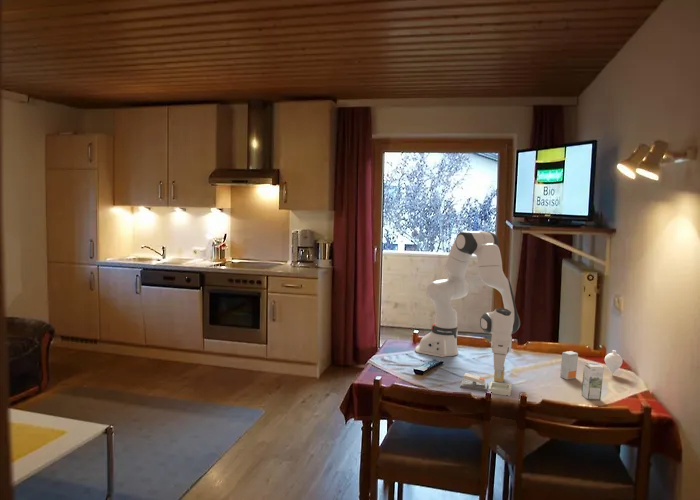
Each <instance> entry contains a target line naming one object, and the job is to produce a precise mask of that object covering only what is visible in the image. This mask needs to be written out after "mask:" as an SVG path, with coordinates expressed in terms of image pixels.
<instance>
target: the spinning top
mask: <svg viewBox="0 0 700 500" xmlns="http://www.w3.org/2000/svg"><path fill="white" fill-rule="evenodd" d="M623 361H624V360H623V358H622V356H621V355H620V354H618V353H617V350H615V349H612V350H611V352H610V353H609V352H608V353H607V355H605V357H604V362H605V365H606V367H607V370H609V372H610V373H611V375H612V376H613V375H614V374H615V373H616V372H617V371H618V370H619V369H620V367H622V365H623Z"/></svg>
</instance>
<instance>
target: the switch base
mask: <svg viewBox="0 0 700 500" xmlns="http://www.w3.org/2000/svg"><path fill="white" fill-rule="evenodd" d="M459 386H460V387H459V388H463V389H469V390H475V391H483V392H487V390H488V388H489V383H488V382H485V383H484V384H480V383H477V382H473V381H470V380H467V379H462V381H461V382H460V385H459Z"/></svg>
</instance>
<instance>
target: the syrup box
mask: <svg viewBox="0 0 700 500" xmlns="http://www.w3.org/2000/svg"><path fill="white" fill-rule="evenodd" d="M604 368H605V367H604V366H603V365H602V364H600V363H598V362H584V364H583V373H582V374H583V375H582V383H581V384H582V385H581V396H582V397H584V399H586V400H589V401H590V400H591V401H593V400H595V401H596V400H597V401H600V400H601V397H602V389H603V388H602V387H603V379H604Z"/></svg>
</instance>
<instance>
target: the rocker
mask: <svg viewBox="0 0 700 500" xmlns="http://www.w3.org/2000/svg"><path fill="white" fill-rule="evenodd" d="M463 379H464V380H470V381H473V382H477V383H480V384H484V383H486V380H487V378H485V377H483V376H479V375H476V374H473V373H468V372H464V375H463ZM463 379H462V380H463Z"/></svg>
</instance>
